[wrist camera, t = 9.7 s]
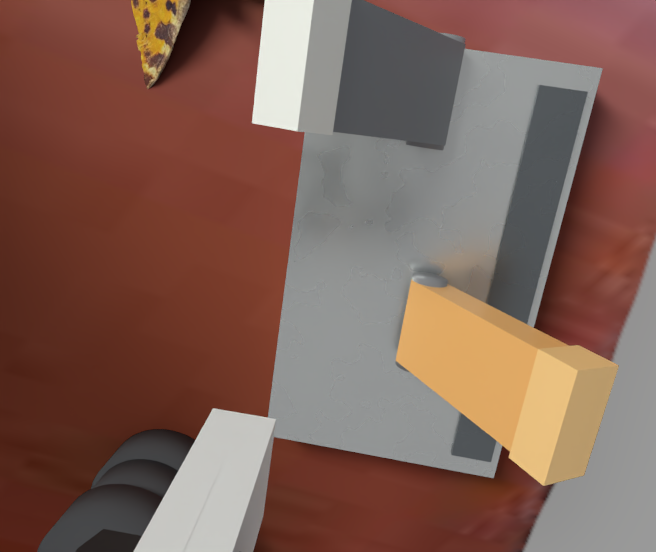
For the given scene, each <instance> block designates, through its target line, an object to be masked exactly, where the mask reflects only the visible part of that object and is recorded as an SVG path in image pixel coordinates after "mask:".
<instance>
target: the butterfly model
mask: <svg viewBox="0 0 656 552" xmlns="http://www.w3.org/2000/svg"><path fill="white" fill-rule="evenodd" d="M146 2H147V4H146ZM190 2H191V0H132V1H131V4H132V10H133V14H134V17H135V20H136V24H137V27H138V32H139V34H138V35H137V36H136V38H137V37H138V39H139V40H136V41H137V45H138V49H139V51H141V59H142V68H143V70H144V81H145V84H146V86H147V89H148V88H150V87H152V86H153V85H154V83H155V82H156V81H157V80H158V78H159V76H160V74H161V73H162V71H163V69H164V67H165V65H166V63H167V61H168V59H169V57H170V54H171V51H172V50H173V48H174V45H173V44H174V43H175V42H176V38H177V35H178V32H179V30H180V27H181V24H182V22H183V21H184V18H185V16H186V14H187V11H188V8H189V6H190ZM139 9H140V10H139ZM147 20H148V21H147ZM169 22H170V23H169ZM149 23H150V25H149ZM145 26H146V27H145ZM146 35H147V37H146ZM169 37H170V39H169Z"/></svg>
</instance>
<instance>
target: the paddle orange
mask: <svg viewBox="0 0 656 552" xmlns="http://www.w3.org/2000/svg"><path fill="white" fill-rule="evenodd" d="M447 283H448V280H447V279H446V278H444V277H442V276H439V275H435V274H431V273H424V272H416V273H413V275H412V280H411V284H410V289H409V294H408V299H407V304H406V309H405V314H404V319H403V325H402V330H401V335H400V340H399V345H398V350H397V355H396V362H395V363H396V365H397V367H399V368H400V369H402V370H404V371H407V372H410V373H412V374H413V375H414V376H416V377H417V378H418V379H419V380H421V381H422V382H423V383H424V384H426V385H427V386H428V387H429V388H431V389H432V390H433V391H434V392H436V393H437V394H438V395H440V396H441V397H442V398H443V399H445V400H446V401H447V402H448V403H450V404H451V405H452V406H453V407H455V408H456V409H457V410H458V411H460V412H461V413H462V414H463V415H465V416H466V417H467V418H468V419H470V420H471V421H472V422H473V423H475V424H476V425H477V426H479V427H480V428H481V429H482V430H484V431H485V432H486V433H487V434H489V435H490V436H491V437H492V438H494V439H495V440H496V441H497V442H499V443H500V444H501V445H502V446H504V447H505V448H506V449H507V450H509V451H510V454H509V458H510V459H511V460H512V461H514V462H515V463H516V464H517V465H518V466H520V467H521V468H522V469H523V470H525V471H526V472H527V473H528V474H530V475H531V476H532V477H533V478H535V479H536V480H537V481H538V482H539V483H541V484H542V485H543V486H545V485H549V484H553V483H557V482H561V481H565V480H569V479H572V478H576V477H580V476H584V474H585V471H586V468H587V465H588V462H589V458H590V454H591V452H592V449H593V446H594V443H595V440H596V436H597V433H598V430H599V427H600V424H601V421H602V418H603V414H604V411H605V408H606V405H607V401H608V398H609V395H610V392H611V389H612V386H613V383H614V380H615V377H616V373H617V370H618V367H619V366H618V365H617V364H615V363H613V362H611V361H609V360H607V359H605V358H603V357H601V356H599V355H597V354H595V353H593V352H591V351H589V350H587V349H585V348H583V347H581V346H579V345H575V346H568V345H566V344H565V343H563V342H561V341H559V340H557V339H555V338H553V337H551V336H549V335H547V334H545V333H543V332H541V331H539V330H537V329H535V328H533V327H531V326H529V325H527V324H525V323H523V322H521V321H519V320H517V319H515V318H513V317H512V316H510V315H508V314H506V313H504V312H502V311H500V310H498V309H496V308H494V307H492V306H490V305H488V304H486V303H484V302H482V301H480V300H478V299H476V298H474V297H472V296H470V295H468V294H466V293H464V292H462V291H460V290H459V289H457V288H455V287H453V286H451V285H449V284H447Z"/></svg>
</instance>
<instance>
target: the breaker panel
mask: <svg viewBox="0 0 656 552" xmlns="http://www.w3.org/2000/svg"><path fill="white" fill-rule="evenodd" d="M602 69H603V68H596V67H589V66H582V65H575V64H568V63H561V62H554V61H547V60H540V59H533V58H526V57H519V56H512V55H505V54H498V53H491V52H484V51H476V50H469V49H464V54H463V59H462V65H461V70H460V75H459V80H458V85H457V90H456V95H455V100H454V105H453V110H452V115H451V120H450V125H449V130H448V135H447V140H446V145H445V146H444V149H443V150H436V149H429V148H422V147H416V146H410V145H406V141H403V140H395V139H387V138H379V137H371V136H363V135H355V134H347V133H339V132H333V135H326V134H317V133H309V132H305V136H304V143H303V151H302V159H301V167H300V174H299V182H298V190H297V197H296V205H295V213H294V220H293V228H292V236H291V244H290V251H289V259H288V267H287V274H286V282H285V290H284V297H283V305H282V313H281V321H280V328H279V336H278V344H277V351H276V359H275V367H274V374H273V382H272V390H271V398H270V405H269V413H268V418H272V419H276V423H275V431H274V437H277V438H282V439H288V440H293V441H298V442H304V443H309V444H314V445H320V446H325V447H330V448H336V449H341V450H346V451H351V452H357V453H362V454H367V455H373V456H378V457H383V458H389V459H394V460H399V461H405V462H410V463H415V464H421V465H426V466H431V467H436V468H442V469H447V470H452V471H458V472H463V473H468V474H474V475H479V476H484V477H490V478H494V475H495V471H496V467H497V464H498V460H499V456H500V452H501V449H502V445H501V444H500V443H499V442H497V441H496V440H495V439H494V438H492V437H491V436H490V435H489V434H487V433H486V432H485V431H484V430H482V429H481V428H480V427H479V426H477V425H476V424H475V423H473V422H472V421H471V420H470V419H468V418H467V417H466V416H465V415H463V414H462V413H461V412H460V411H458V410H457V409H456V408H455V407H453V406H452V405H451V404H450V403H448V402H447V401H446V400H445V399H443V398H442V397H441V396H440V395H438V394H437V393H436V392H434V391H433V390H432V389H431V388H429V387H428V386H427V385H426V384H424V383H423V382H422V381H421V380H419V379H418V378H417V377H416V376H414V375H413V374H412V373H410V372H407V371H404V370H402V369H400V368H399V367H397V365H396V363H395V362H396V355H397V350H398V345H399V340H400V335H401V330H402V325H403V319H404V314H405V309H406V304H407V299H408V294H409V289H410V284H411V280H412V275H413V273H416V272H424V273H431V274H435V275H439V276H442V277H444V278H446V279H447V280H448V283H447V284H449V285H451V286H453V287H455V288H457V289H459V290H460V291H462V292H464V293H466V294H468V295H470V296H472V297H474V298H476V299H478V300H480V301H482V302H484V303H486V304H488V305H490V306H492V307H494V308H496V309H498V310H500V311H502V312H504V313H506V314H508V315H510V316H512V317H513V318H515V319H517V320H519V321H521V322H523V323H525V324H527V325H529V326H531V327H533V328H534V325H535V321H536V317H537V313H538V310H539V306H540V302H541V298H542V295H543V291H544V287H545V283H546V279H547V276H548V272H549V268H550V264H551V261H552V257H553V253H554V249H555V246H556V242H557V238H558V234H559V231H560V227H561V223H562V219H563V216H564V212H565V208H566V204H567V201H568V197H569V193H570V189H571V185H572V182H573V178H574V174H575V170H576V167H577V163H578V159H579V155H580V152H581V148H582V144H583V140H584V137H585V133H586V129H587V125H588V122H589V118H590V114H591V110H592V107H593V103H594V99H595V95H596V91H597V88H598V84H599V80H600V76H601V73H602Z"/></svg>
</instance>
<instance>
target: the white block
mask: <svg viewBox="0 0 656 552" xmlns="http://www.w3.org/2000/svg"><path fill="white" fill-rule="evenodd" d="M464 49H465V38H463V37H461V36H457V35H452V34H446V33H438V32H436V31H433V30H431V29H429V28H427V27H424V26H422V25H420V24H417V23H415V22H413V21H410V20H408V19H406V18H403V17H401V16H399V15H396V14H394V13H392V12H389V11H387V10H385V9H382V8H380V7H378V6H375V5H373V4H371V3H369V2H366V1H364V0H265V3H264V13H263V22H262V32H261V41H260V51H259V61H258V70H257V80H256V90H255V99H254V109H253V119H252V123H254V124H260V125H266V126H271V127H277V128H282V129H288V130H293V131H300V132H309V133H317V134H326V135H333V132H339V133H347V134H355V135H363V136H371V137H379V138H387V139H395V140H403V141H406V145H410V146H416V147H422V148H429V149H436V150H443V149H444V146H445V145H446V140H447V135H448V130H449V125H450V120H451V115H452V110H453V105H454V100H455V95H456V90H457V85H458V80H459V75H460V70H461V65H462V59H463V54H464Z"/></svg>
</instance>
